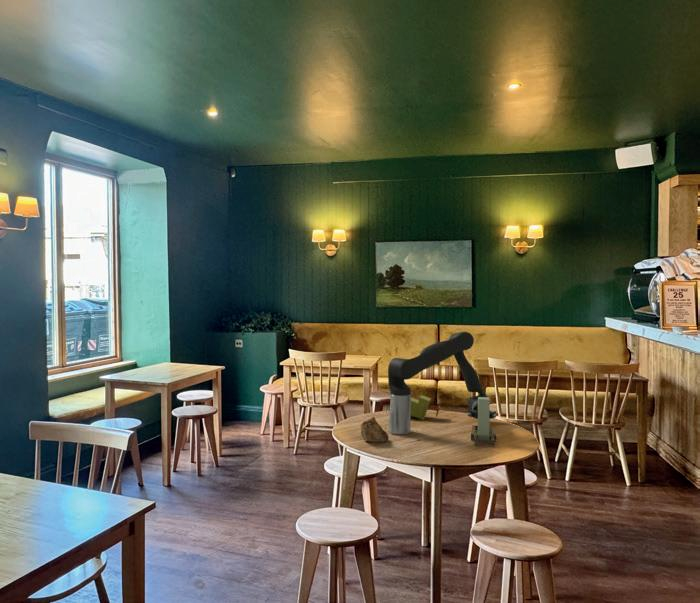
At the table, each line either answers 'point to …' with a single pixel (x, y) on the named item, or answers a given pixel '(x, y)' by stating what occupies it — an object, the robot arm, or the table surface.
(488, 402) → the block
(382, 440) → the decorative rock
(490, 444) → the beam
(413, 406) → the toy
